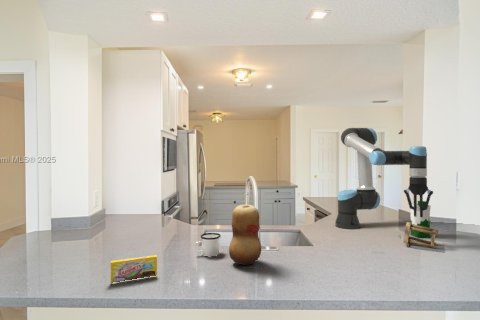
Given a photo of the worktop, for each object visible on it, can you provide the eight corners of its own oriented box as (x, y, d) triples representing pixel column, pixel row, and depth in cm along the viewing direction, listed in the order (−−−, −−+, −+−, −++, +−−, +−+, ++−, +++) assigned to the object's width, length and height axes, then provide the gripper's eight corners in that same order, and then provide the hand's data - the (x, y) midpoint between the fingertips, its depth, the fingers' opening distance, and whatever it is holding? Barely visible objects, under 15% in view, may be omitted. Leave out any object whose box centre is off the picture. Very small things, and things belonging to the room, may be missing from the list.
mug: (217, 250, 139) (217, 231, 139) (223, 256, 130) (223, 236, 130) (193, 253, 135) (193, 234, 135) (197, 259, 126) (197, 239, 126)
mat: (409, 247, 140) (409, 247, 140) (411, 240, 151) (411, 240, 151) (444, 252, 132) (444, 252, 132) (443, 244, 143) (443, 244, 143)
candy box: (110, 285, 101) (110, 262, 101) (110, 283, 103) (110, 260, 103) (157, 277, 108) (157, 256, 107) (156, 275, 109) (156, 254, 109)
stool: (405, 225, 143) (438, 232, 135) (407, 221, 150) (438, 228, 142) (403, 242, 143) (436, 250, 136) (404, 238, 151) (436, 245, 143)
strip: (406, 247, 140) (406, 244, 140) (408, 240, 152) (408, 238, 152) (408, 247, 140) (408, 245, 140) (410, 240, 152) (410, 238, 152)
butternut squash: (238, 272, 111) (237, 209, 111) (224, 261, 123) (223, 204, 123) (267, 266, 118) (267, 206, 117) (251, 256, 129) (251, 201, 129)
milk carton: (415, 238, 156) (415, 202, 156) (407, 233, 165) (407, 199, 165) (432, 238, 155) (432, 202, 155) (423, 234, 164) (423, 199, 164)
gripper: (402, 176, 144) (402, 223, 144) (433, 177, 137) (433, 226, 137) (403, 176, 150) (404, 220, 150) (433, 176, 143) (433, 223, 143)
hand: (418, 223), depth 143 cm, fingers closed
